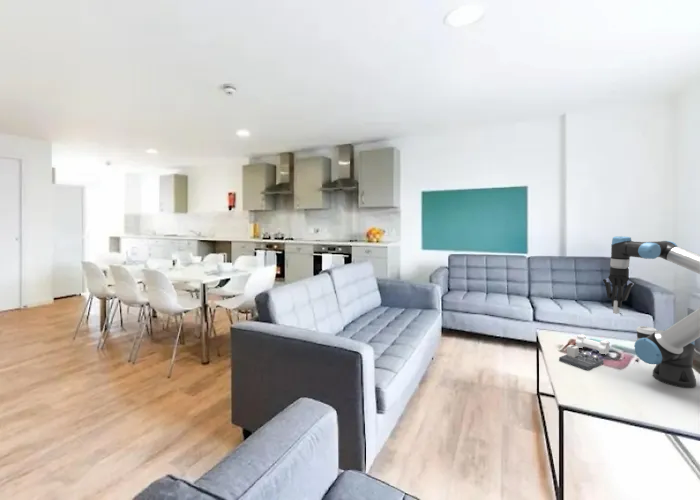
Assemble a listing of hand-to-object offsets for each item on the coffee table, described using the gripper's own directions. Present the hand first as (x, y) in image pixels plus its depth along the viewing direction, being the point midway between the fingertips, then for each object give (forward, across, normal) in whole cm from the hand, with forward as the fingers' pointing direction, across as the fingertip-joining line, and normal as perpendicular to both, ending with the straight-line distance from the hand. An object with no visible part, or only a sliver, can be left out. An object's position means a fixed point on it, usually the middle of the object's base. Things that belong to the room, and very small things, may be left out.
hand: (615, 313), depth 177 cm
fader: (+26, +15, +8) cm, 31 cm away
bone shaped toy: (+29, +16, -14) cm, 36 cm away
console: (+28, +11, +8) cm, 31 cm away
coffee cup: (+29, -2, -34) cm, 44 cm away
